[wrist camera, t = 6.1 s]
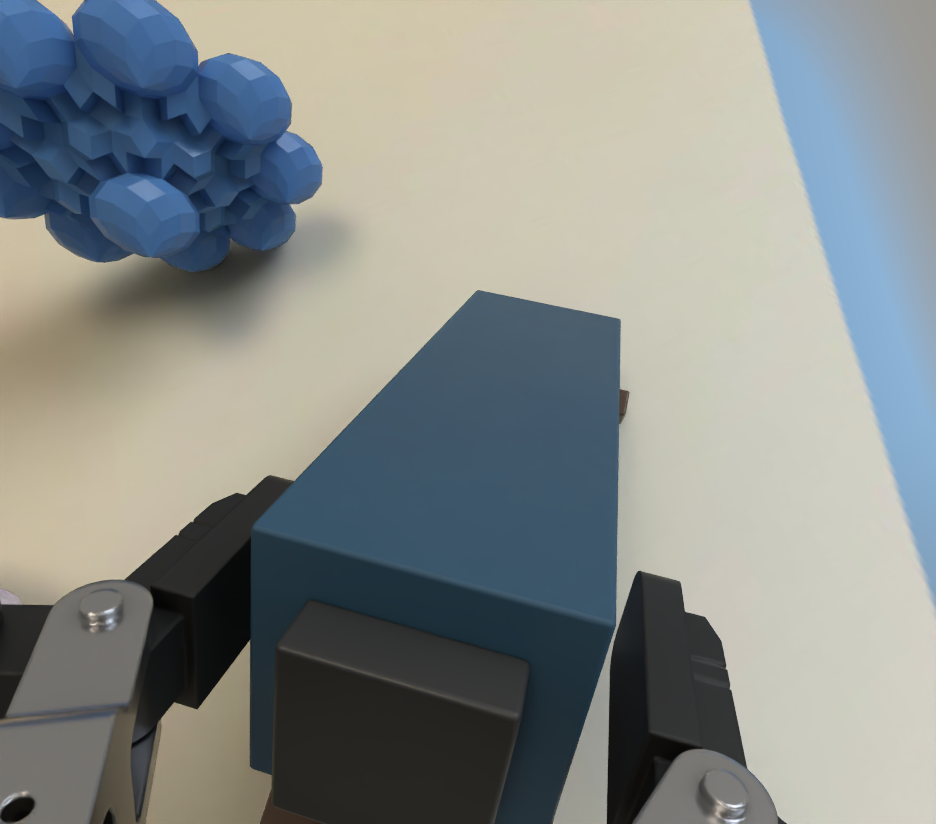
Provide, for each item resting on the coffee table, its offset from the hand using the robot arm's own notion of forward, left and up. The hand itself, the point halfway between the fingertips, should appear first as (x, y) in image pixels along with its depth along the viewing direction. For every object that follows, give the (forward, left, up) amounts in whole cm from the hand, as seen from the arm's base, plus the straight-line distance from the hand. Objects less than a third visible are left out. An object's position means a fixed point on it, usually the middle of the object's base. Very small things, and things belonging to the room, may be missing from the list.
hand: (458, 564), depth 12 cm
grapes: (+16, +7, -10) cm, 20 cm away
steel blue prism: (+2, -1, -3) cm, 4 cm away
